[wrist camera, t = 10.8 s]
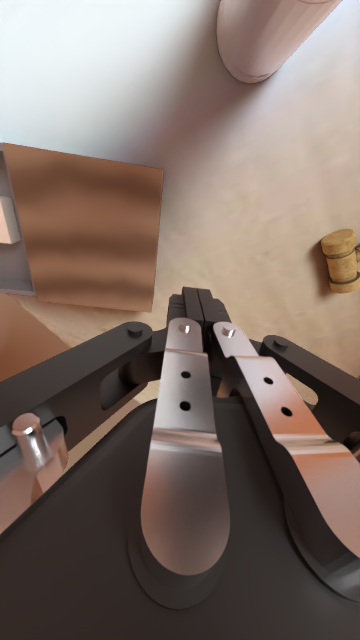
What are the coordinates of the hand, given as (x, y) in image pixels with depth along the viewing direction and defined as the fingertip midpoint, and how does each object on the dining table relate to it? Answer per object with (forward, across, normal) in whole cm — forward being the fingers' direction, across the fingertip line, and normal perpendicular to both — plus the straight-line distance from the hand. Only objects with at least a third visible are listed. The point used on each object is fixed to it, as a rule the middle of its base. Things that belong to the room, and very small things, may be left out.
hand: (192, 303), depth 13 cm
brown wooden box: (+27, +12, +3) cm, 30 cm away
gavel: (+28, -35, -3) cm, 45 cm away
